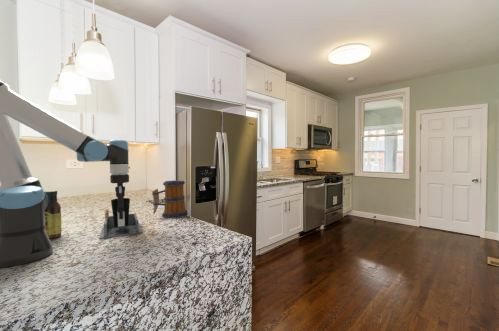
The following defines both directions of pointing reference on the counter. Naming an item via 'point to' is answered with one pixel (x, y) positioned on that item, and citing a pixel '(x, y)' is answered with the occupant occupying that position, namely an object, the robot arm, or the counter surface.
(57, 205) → the sauce bottle
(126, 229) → the tray
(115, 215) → the cup
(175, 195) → the mug
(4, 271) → the counter surface
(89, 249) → the counter surface
